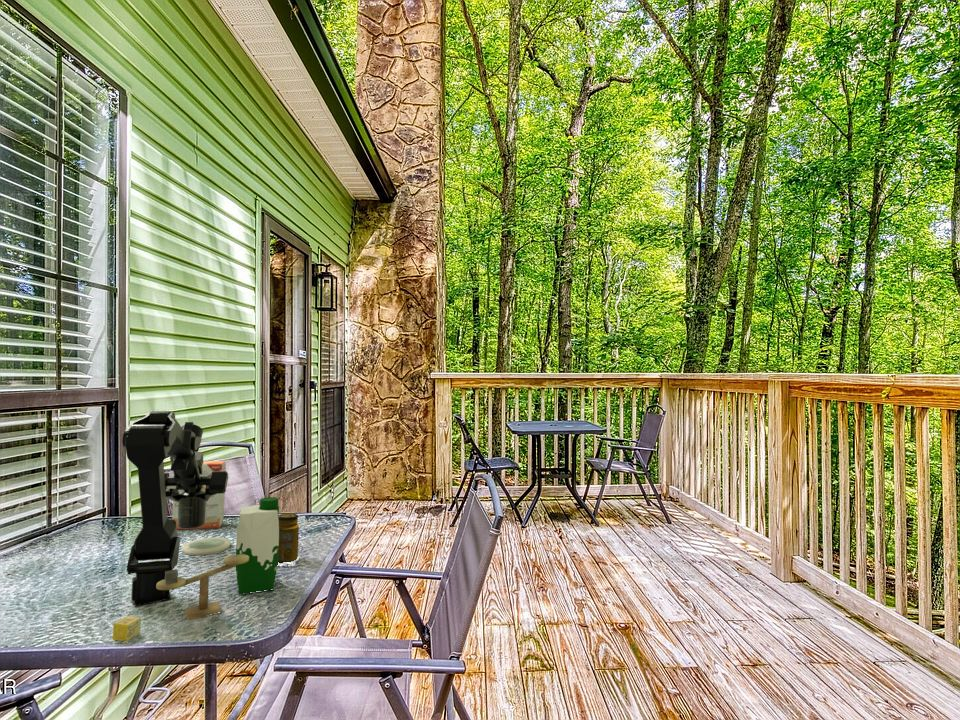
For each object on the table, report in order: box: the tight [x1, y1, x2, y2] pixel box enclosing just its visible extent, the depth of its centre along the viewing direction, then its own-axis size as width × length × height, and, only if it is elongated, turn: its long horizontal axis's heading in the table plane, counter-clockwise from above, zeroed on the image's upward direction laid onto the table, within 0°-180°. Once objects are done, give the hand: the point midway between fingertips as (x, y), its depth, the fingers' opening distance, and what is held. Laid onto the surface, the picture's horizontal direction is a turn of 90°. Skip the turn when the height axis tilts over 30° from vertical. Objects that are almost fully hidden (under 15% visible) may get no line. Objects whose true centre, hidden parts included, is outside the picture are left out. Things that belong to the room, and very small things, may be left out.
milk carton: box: [235, 496, 280, 595], centre depth 120 cm, size 9×9×20 cm
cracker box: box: [171, 460, 227, 531], centre depth 167 cm, size 14×6×21 cm, turn 104°
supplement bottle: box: [178, 485, 206, 528], centre depth 145 cm, size 7×7×12 cm
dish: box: [181, 537, 231, 556], centre depth 146 cm, size 12×12×1 cm
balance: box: [156, 554, 249, 621], centre depth 106 cm, size 17×5×10 cm, turn 126°
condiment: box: [278, 512, 300, 563], centre depth 137 cm, size 7×8×12 cm
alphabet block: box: [112, 615, 142, 642], centre depth 96 cm, size 3×3×3 cm
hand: (193, 500), depth 147 cm, fingers closed on supplement bottle, 7 cm apart
